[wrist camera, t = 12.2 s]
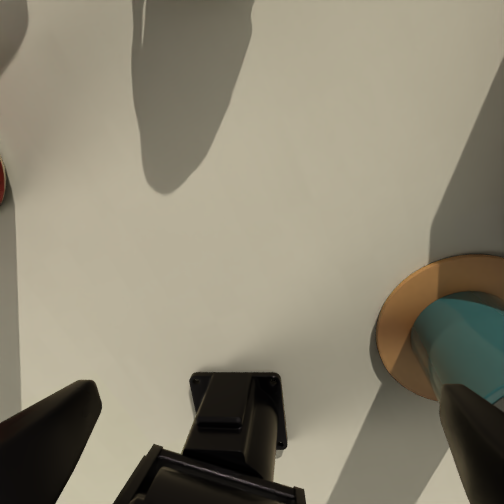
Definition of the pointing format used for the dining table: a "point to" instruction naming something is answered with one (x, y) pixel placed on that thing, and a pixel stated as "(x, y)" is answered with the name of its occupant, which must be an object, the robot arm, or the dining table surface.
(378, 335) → the coaster
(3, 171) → the soda can
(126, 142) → the dining table surface
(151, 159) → the dining table surface
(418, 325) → the cup
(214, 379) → the robot arm
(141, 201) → the dining table surface
